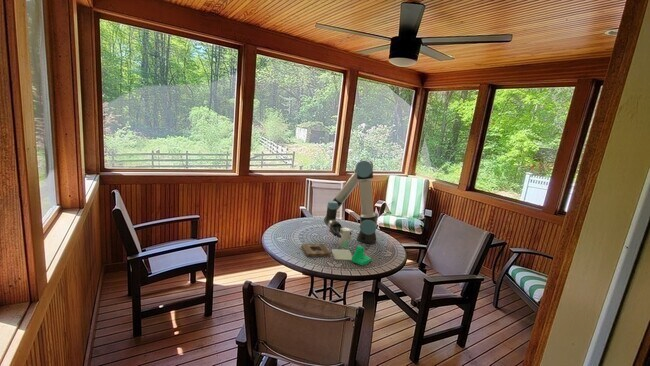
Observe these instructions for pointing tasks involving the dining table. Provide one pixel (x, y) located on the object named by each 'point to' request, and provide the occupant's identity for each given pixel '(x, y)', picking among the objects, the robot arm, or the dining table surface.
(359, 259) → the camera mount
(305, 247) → the walnut socket
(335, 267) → the dining table surface
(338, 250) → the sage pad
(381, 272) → the dining table surface
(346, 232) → the aluminium post
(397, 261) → the dining table surface
